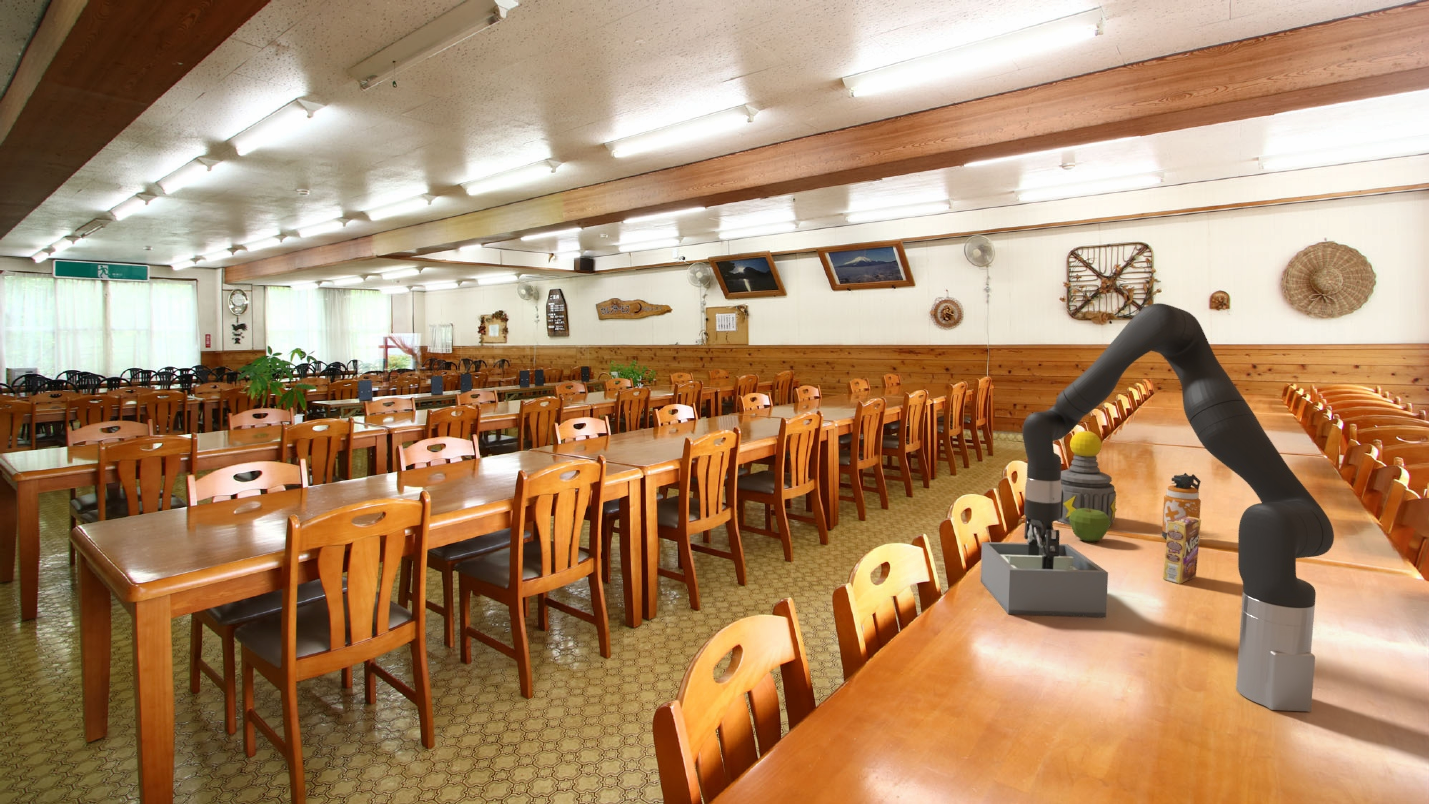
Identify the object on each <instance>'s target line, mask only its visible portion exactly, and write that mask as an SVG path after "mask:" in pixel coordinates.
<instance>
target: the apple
mask: <svg viewBox="0 0 1429 804" xmlns="http://www.w3.org/2000/svg"><path fill="white" fill-rule="evenodd" d="M1069 519H1070V524H1071V525H1070V527H1071V529H1072V532H1073V534H1074V535H1075V536H1076V537H1077V538H1078V539H1080V540H1081V541H1083V542H1084V541H1085V542H1092V543H1093V542H1096V541H1097V542H1098V541H1100V540H1102V539H1103V538H1104V537H1105V535H1106V534H1107V532H1108V531H1109V528H1110V526H1111V525H1110V523H1111V521H1110V518H1109V516H1108V515H1107V514H1105V513H1104V512H1102V511H1099V510H1094V509H1090V508H1089V509H1087V508H1080V509H1076V510H1074V511H1073V512H1071V514H1070V516H1069Z"/></svg>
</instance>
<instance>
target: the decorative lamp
mask: <svg viewBox="0 0 1429 804" xmlns="http://www.w3.org/2000/svg"><path fill="white" fill-rule="evenodd" d="M1069 441H1070V442H1069V446H1070V450H1071V452H1072V453H1073V457H1072V458H1073V460H1071V465H1070V466H1069V468H1068V469H1065V470H1061V488H1062V493H1061V516H1060V519H1059V520H1057V521H1056V522H1059V523H1062V524H1065V525H1069V526H1071V524H1070V519H1069V516H1070V514H1071V512H1073V511H1074V510H1076V509H1080V508H1087V509H1089V508H1090V509H1094V510H1099V511H1102V512H1104V513H1105V514H1107V515H1108V516H1109V518H1110V521H1111V523H1110V526H1112V524H1114V521H1115V518H1116V512H1117V508H1116V502H1117V501H1116V500H1117V499H1116V498H1117V491H1116V490H1115V489H1116V487H1115V485H1113V484H1112V483H1111V482H1112V481H1113V480H1112V477H1111V475H1109V474H1107V473H1105V472H1101V471H1100V468H1099V462H1098V458H1097V456H1098V454H1100V452H1101V450H1102V444H1103V443H1102V441H1101V438H1100V437H1099V436H1098V435H1097V434H1096V433H1094V432H1093V431H1089V430H1084V431H1083V430H1082V431H1081V430H1080V431H1078V432H1076V433H1075V434H1074V435H1073V436H1072V437H1071V438H1070V440H1069Z"/></svg>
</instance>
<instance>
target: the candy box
mask: <svg viewBox="0 0 1429 804" xmlns="http://www.w3.org/2000/svg"><path fill="white" fill-rule="evenodd" d="M1201 522H1202V519H1201V518H1200V519H1198V518H1194V517H1188V516H1182V517H1179V518H1176V519H1173V520H1169V521H1168V530H1167V539H1166V540H1165V541H1166V543H1165V552H1164V553H1165V554H1164V563H1163V575H1162V580H1164V581H1167V582H1171V583H1174V584H1179V585H1181V584H1183V583H1185V582H1187V581H1190V580H1192V579H1195V578H1197V569H1198V568H1197V567H1198V557H1199V545H1200V533H1201V524H1202V523H1201Z"/></svg>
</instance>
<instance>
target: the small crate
mask: <svg viewBox="0 0 1429 804" xmlns="http://www.w3.org/2000/svg"><path fill="white" fill-rule="evenodd" d="M1000 555H1001V554H1000ZM1001 556H1002V557H1003V558H1004V559H1005V560H1006V561H1007V562H1008V563H1009V564H1010V565H1011V566H1012V567H1013V568H1024V569H1042V556H1041V555H1039V556H1033V555H1001ZM1053 569H1062V570H1077V569H1076V568H1075V567H1073V557H1072V556H1059V557H1054V564H1053Z"/></svg>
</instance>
